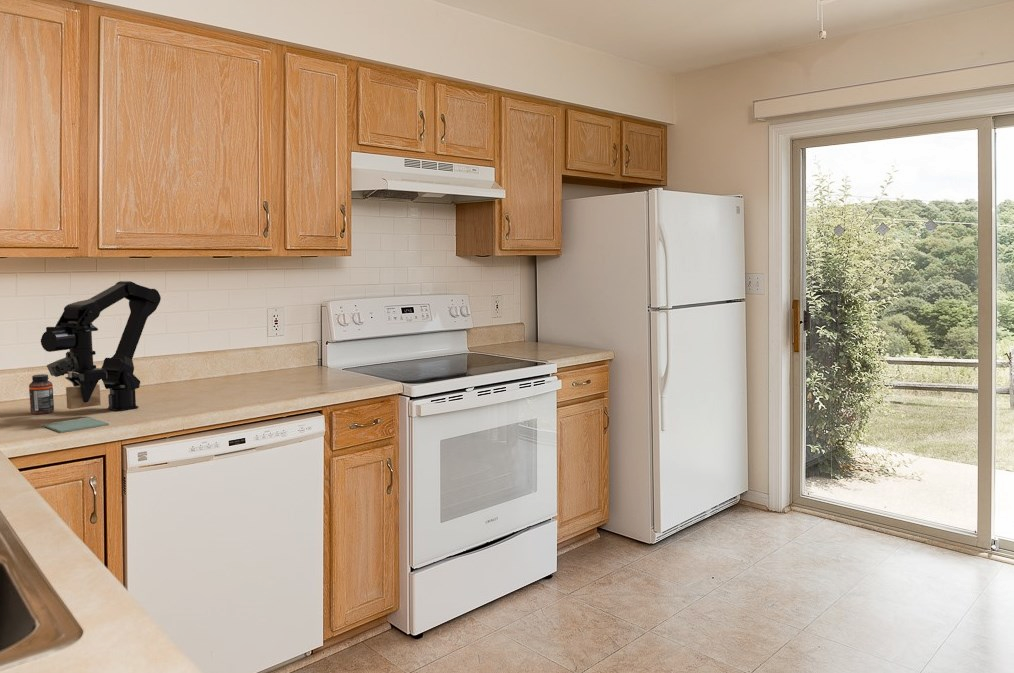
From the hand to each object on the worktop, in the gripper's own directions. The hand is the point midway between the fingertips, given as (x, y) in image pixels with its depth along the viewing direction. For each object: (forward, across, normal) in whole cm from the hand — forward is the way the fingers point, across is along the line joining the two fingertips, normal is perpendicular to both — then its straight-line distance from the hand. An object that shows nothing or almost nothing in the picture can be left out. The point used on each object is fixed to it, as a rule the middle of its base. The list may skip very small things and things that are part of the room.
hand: (83, 401), depth 210 cm
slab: (+1, 0, 0) cm, 1 cm away
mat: (+5, +9, -6) cm, 12 cm away
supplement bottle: (+5, -17, -5) cm, 18 cm away
